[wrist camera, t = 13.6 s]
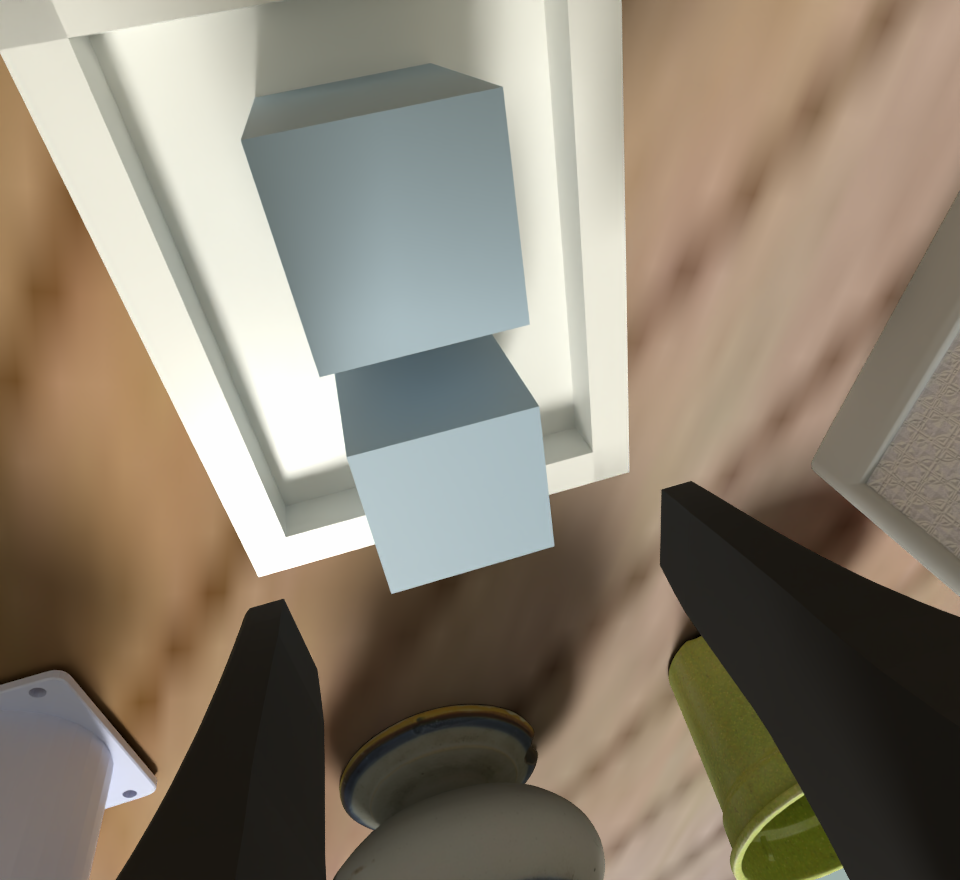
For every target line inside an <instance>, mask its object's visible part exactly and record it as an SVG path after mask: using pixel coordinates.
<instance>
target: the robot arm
mask: <svg viewBox="0 0 960 880" xmlns="http://www.w3.org/2000/svg"><path fill="white" fill-rule="evenodd" d="M660 566H661V568H662V570H663V572H664V574H665V576H666V578H667V580H668V582H669V583H670V585H671V587H672V589H673V591H674V593H675V595H676V597H677V598H678V600H679V602H680V604H681V606H682V607H683V609H684V611H685V613H686V614H687V615H688V617H689V618H690V620H691V621H692V623H693V624H694V626H695V627H696V628H697V630H698V631H699V633H700V634H701V636H702V637H703V638H704V640H705V641H706V643H707V644H708V646H709V647H710V648H711V650H712V651H713V653H714V654H715V655H716V657H717V658H718V660H719V661H720V662H721V664H722V665H723V667H724V668H725V669H726V671H727V672H728V674H729V675H730V677H731V678H732V679H733V681H734V682H735V684H736V685H737V686H738V688H739V689H740V691H741V692H742V693H743V695H744V696H745V698H746V699H747V700H748V702H749V703H750V705H751V706H752V707H753V709H754V710H755V712H756V713H757V715H758V717H759V718H760V720H761V721H762V723H763V724H764V726H765V727H766V729H767V730H768V732H769V734H770V735H771V737H772V739H773V741H774V742H775V744H776V746H777V747H778V749H779V751H780V753H781V754H782V756H783V758H784V760H785V761H786V763H787V765H788V767H789V768H790V770H791V772H792V774H793V775H794V777H795V779H796V780H797V782H798V784H799V786H800V788H801V790H802V791H803V793H804V795H805V797H806V799H807V801H808V802H809V804H810V806H811V808H812V810H813V811H814V813H815V815H816V817H817V819H818V821H819V822H820V824H821V826H822V828H823V830H824V831H825V833H826V835H827V837H828V839H829V841H830V843H831V845H832V847H833V849H834V851H835V853H836V854H837V856H838V858H839V860H840V862H841V864H842V866H843V868H844V870H845V872H846V874H847V876H848V878H849V879H850V880H960V617H958V616H956V615H953V614H950V613H947V612H945V611H942V610H939V609H937V608H934V607H932V606H929V605H927V604H924V603H922V602H919V601H917V600H914V599H912V598H910V597H907V596H905V595H903V594H900V593H898V592H896V591H893V590H891V589H889V588H886V587H884V586H882V585H879V584H877V583H875V582H873V581H871V580H868V579H866V578H864V577H862V576H860V575H858V574H856V573H854V572H852V571H850V570H848V569H846V568H844V567H842V566H840V565H838V564H836V563H834V562H832V561H830V560H828V559H826V558H824V557H822V556H820V555H818V554H816V553H814V552H812V551H810V550H809V549H807V548H805V547H803V546H801V545H799V544H797V543H796V542H794V541H792V540H790V539H788V538H787V537H785V536H783V535H781V534H780V533H778V532H776V531H774V530H773V529H771V528H769V527H767V526H766V525H764V524H762V523H761V522H759V521H757V520H755V519H754V518H752V517H750V516H749V515H747V514H745V513H744V512H742V511H740V510H739V509H737V508H735V507H734V506H732V505H730V504H729V503H727V502H725V501H724V500H722V499H721V498H719V497H717V496H716V495H714V494H712V493H711V492H709V491H707V490H706V489H704V488H702V487H701V486H699V485H697V484H695V483H694V482H692V481H690V482H686V483H683V484H679V485H676V486H672V487H669V488H665V489H662V495H661V544H660ZM156 786H157V778H156V777H155V776H154V774H153V773H152V772H151V771H150V770H149V768H148V767H147V766H146V765H145V764H144V762H143V761H142V760H141V759H140V758H139V757H138V755H137V754H136V753H135V752H134V751H133V749H132V748H131V747H130V746H129V745H128V743H127V742H126V741H125V740H124V739H123V737H122V736H121V735H120V734H119V733H118V731H117V730H116V729H115V728H114V727H113V726H112V724H111V723H110V722H109V721H108V720H107V718H106V717H105V716H104V715H103V714H102V712H101V711H100V710H99V709H98V708H97V706H96V705H95V704H94V703H93V702H92V701H91V699H90V698H89V697H88V696H87V695H86V693H85V692H84V691H83V690H82V689H81V687H80V686H79V685H78V684H77V683H76V681H75V680H74V679H73V678H72V677H71V676H70V675H69V674H68V673H67V672H64V671H61V670H52V671H47V672H43V673H40V674H37V675H33V676H30V677H26V678H23V679H19V680H16V681H12V682H9V683H5V684H2V685H0V880H89V877H90V872H91V868H92V864H93V859H94V855H95V850H96V846H97V841H98V837H99V832H100V828H101V823H102V819H103V814H104V810H105V809H106V808H109V807H112V806H116V805H119V804H122V803H125V802H128V801H131V800H134V799H138V798H141V797H144V796H147V795H149V794H151V793H153V792H154V791H155V790H156ZM116 880H326V866H325V754H324V719H323V710H322V702H321V694H320V686H319V678H318V671H317V668H316V666H315V663H314V661H313V659H312V657H311V655H310V653H309V651H308V649H307V647H306V644H305V642H304V640H303V638H302V636H301V634H300V632H299V630H298V628H297V625H296V623H295V621H294V619H293V617H292V615H291V613H290V611H289V609H288V606H287V604H286V602H285V600H284V599H281V600H278V601H274V602H271V603H267V604H264V605H260V606H257V607H253V608H250V609H249V610H248V611H247V613H246V614H245V617H244V619H243V622H242V625H241V628H240V630H239V633H238V636H237V638H236V641H235V644H234V646H233V649H232V652H231V654H230V657H229V659H228V662H227V664H226V667H225V669H224V672H223V674H222V677H221V679H220V681H219V684H218V686H217V688H216V691H215V693H214V695H213V698H212V700H211V702H210V704H209V707H208V709H207V711H206V714H205V716H204V718H203V720H202V723H201V725H200V727H199V729H198V731H197V734H196V736H195V738H194V740H193V742H192V744H191V746H190V748H189V750H188V752H187V754H186V756H185V758H184V760H183V762H182V764H181V766H180V768H179V770H178V772H177V774H176V776H175V778H174V780H173V782H172V784H171V786H170V788H169V790H168V791H167V793H166V795H165V797H164V799H163V801H162V803H161V804H160V806H159V808H158V810H157V812H156V813H155V815H154V817H153V819H152V821H151V822H150V824H149V826H148V828H147V829H146V831H145V833H144V834H143V836H142V838H141V840H140V841H139V843H138V845H137V846H136V848H135V850H134V851H133V853H132V855H131V856H130V858H129V860H128V861H127V863H126V864H125V866H124V868H123V869H122V871H121V872H120V874H119V875H118V877H117V879H116Z"/></svg>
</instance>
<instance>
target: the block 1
mask: <svg viewBox="0 0 960 880" xmlns="http://www.w3.org/2000/svg"><path fill="white" fill-rule="evenodd" d="M241 143H242V146H243V149H244V152H245V155H246V158H247V161H248V164H249V167H250V170H251V173H252V176H253V179H254V182H255V185H256V188H257V191H258V194H259V197H260V200H261V203H262V206H263V209H264V212H265V215H266V218H267V221H268V224H269V227H270V230H271V233H272V236H273V239H274V242H275V245H276V248H277V251H278V254H279V257H280V260H281V263H282V266H283V269H284V272H285V275H286V278H287V281H288V284H289V287H290V290H291V293H292V296H293V299H294V302H295V305H296V308H297V311H298V314H299V317H300V320H301V323H302V326H303V329H304V332H305V335H306V338H307V341H308V344H309V347H310V350H311V353H312V356H313V359H314V362H315V365H316V368H317V371H318V374H319V377H323V376H327V375H331V374H335V373H339V372H343V371H347V370H351V369H355V368H359V367H363V366H367V365H371V364H375V363H379V362H383V361H387V360H391V359H395V358H399V357H403V356H407V355H411V354H415V353H419V352H423V351H427V350H431V349H435V348H439V347H443V346H447V345H451V344H454V343H458V342H462V341H466V340H470V339H474V338H478V337H482V336H486V335H490V334H494V333H498V332H502V331H506V330H510V329H514V328H518V327H522V326H526V325H530V321H529V313H528V304H527V295H526V286H525V277H524V268H523V259H522V251H521V242H520V233H519V224H518V215H517V206H516V198H515V189H514V180H513V171H512V162H511V153H510V144H509V136H508V127H507V118H506V109H505V100H504V91H503V87H502V86H499V85H496V84H493V83H490V82H487V81H484V80H481V79H478V78H475V77H472V76H468V75H465V74H462V73H459V72H456V71H453V70H450V69H447V68H444V67H441V66H438V65H435V64H432V63H429V64H423V65H418V66H413V67H408V68H403V69H398V70H393V71H388V72H383V73H378V74H372V75H367V76H362V77H357V78H352V79H347V80H342V81H337V82H332V83H327V84H321V85H316V86H311V87H306V88H301V89H296V90H291V91H286V92H281V93H276V94H270V95H265V96H260V97H255V99H254V102H253V105H252V108H251V111H250V114H249V117H248V120H247V123H246V126H245V129H244V132H243V135H242V138H241Z"/></svg>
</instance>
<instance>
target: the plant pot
mask: <svg viewBox="0 0 960 880" xmlns="http://www.w3.org/2000/svg"><path fill="white" fill-rule="evenodd" d="M669 683H670V685H671V688H672V690H673V692H674V695H675V697H676V700H677V702H678V704H679V707H680V709H681V711H682V714H683V716H684V719H685V721H686V723H687V726H688V728H689V731H690V733H691V736H692V738H693V741H694V743H695V745H696V748H697V750H698V753H699V755H700V757H701V760H702V762H703V765H704V767H705V770H706V772H707V774H708V777H709V779H710V782H711V784H712V787H713V789H714V792H715V794H716V797H717V799H718V802H719V804H720V807H721V809H722V812H723V824H724V828H725V831H726V834H727V837H728V839H729V842H730V844H731V847H732V852H731V856H730V865H731V869H732V872H733V874H734V876H735V878H736V879H737V880H814V879H817V878H821V877H823V876H826V875H829V874H831V873H832V872H835V871H837V870H839V869H842V868H843V866H842V864H841V862H840V860H839V858H838V856H837V854H836V853H835V851H834V849H833V847H832V845H831V843H830V841H829V839H828V837H827V835H826V833H825V831H824V830H823V828H822V826H821V824H820V822H819V821H818V819H817V817H816V815H815V813H814V811H813V810H812V808H811V806H810V804H809V802H808V801H807V799H806V797H805V795H804V793H803V791H802V790H801V788H800V786H799V784H798V782H797V780H796V779H795V777H794V775H793V774H792V772H791V770H790V768H789V767H788V765H787V763H786V761H785V760H784V758H783V756H782V754H781V753H780V751H779V749H778V747H777V746H776V744H775V742H774V741H773V739H772V737H771V735H770V734H769V732H768V730H767V729H766V727H765V726H764V724H763V723H762V721H761V720H760V718H759V717H758V715H757V713H756V712H755V710H754V709H753V707H752V706H751V705H750V703H749V702H748V700H747V699H746V698H745V696H744V695H743V693H742V692H741V691H740V689H739V688H738V686H737V685H736V684H735V682H734V681H733V679H732V678H731V677H730V675H729V674H728V672H727V671H726V669H725V668H724V667H723V665H722V664H721V662H720V661H719V660H718V658H717V657H716V655H715V654H714V653H713V651H712V650H711V648H710V647H709V646H708V644H707V643H706V641H705V640H704V638H703V637H702V636H700V637H698V638H696V639H693V640H689V641H687V642H686V643H685V644H684V645H683V646H682V647H681V648H680V649H679V651H678V652H677V653H676V655H675V657H674V659H673V661H672V663H671V666H670V670H669Z"/></svg>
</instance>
